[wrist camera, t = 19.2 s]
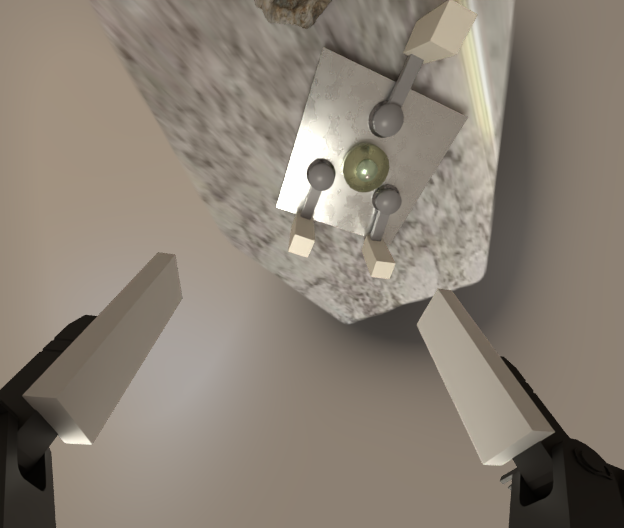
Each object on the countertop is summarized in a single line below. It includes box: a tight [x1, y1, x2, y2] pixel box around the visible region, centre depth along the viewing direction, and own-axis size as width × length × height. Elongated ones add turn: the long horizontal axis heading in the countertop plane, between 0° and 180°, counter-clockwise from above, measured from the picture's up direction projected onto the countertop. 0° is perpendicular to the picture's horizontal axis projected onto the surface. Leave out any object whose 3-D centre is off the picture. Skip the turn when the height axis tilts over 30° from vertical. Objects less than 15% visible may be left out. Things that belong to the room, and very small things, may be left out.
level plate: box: [276, 47, 468, 245], centre depth 40 cm, size 23×23×6 cm
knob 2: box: [362, 188, 402, 279], centre depth 42 cm, size 13×4×9 cm, turn 172°
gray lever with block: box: [372, 0, 478, 137], centre depth 31 cm, size 13×4×9 cm, turn 160°
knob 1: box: [288, 162, 334, 258], centre depth 39 cm, size 13×4×9 cm, turn 159°
